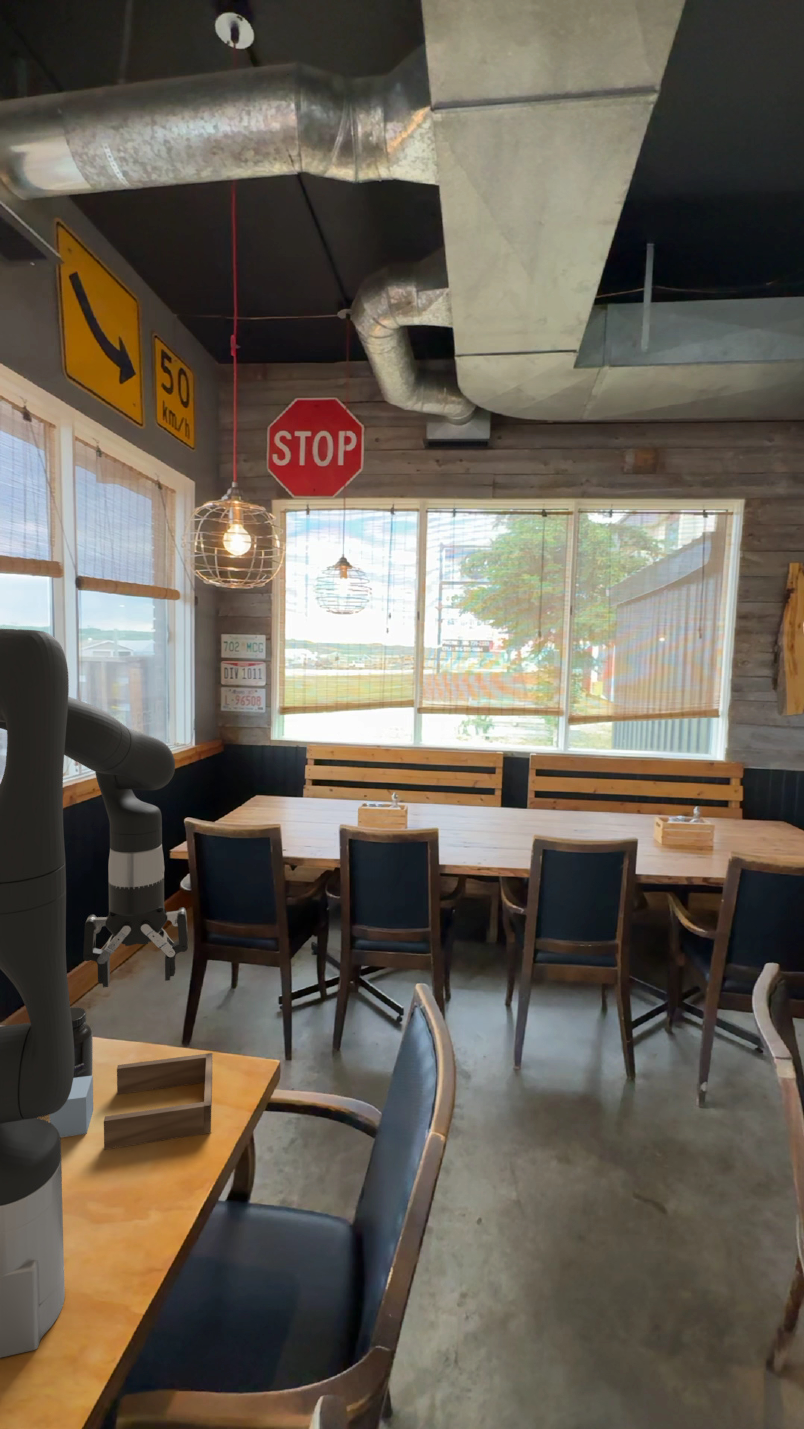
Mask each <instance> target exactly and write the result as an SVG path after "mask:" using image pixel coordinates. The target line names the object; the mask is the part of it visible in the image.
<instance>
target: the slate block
mask: <svg viewBox="0 0 804 1429" xmlns="http://www.w3.org/2000/svg"><path fill="white" fill-rule="evenodd" d="M93 1113H94V1075H92V1076H85V1077H77V1078H73V1083H72V1088H71V1092H70V1095H69V1097H68V1099H67V1101H66V1103H65V1104H64V1105H63V1106H62V1108H61V1109H60V1110H58V1111H57V1112H55V1113H52V1114H49V1122H50V1123H51V1124H52V1125H54V1126H55V1128H56V1129H57V1130H58V1132H59V1135H60V1139H61V1138H64V1137H72V1136H80V1135H81V1136H82V1135H86V1134H87V1133H88V1130H89V1127H90V1123H91V1120H92V1117H93Z"/></svg>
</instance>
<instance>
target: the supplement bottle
mask: <svg viewBox="0 0 804 1429" xmlns="http://www.w3.org/2000/svg"><path fill="white" fill-rule="evenodd" d="M70 1009H71V1019H72V1028H73V1040H74V1077H73V1078H77V1077H85V1076H93V1066H94V1065H93V1062H94V1060H93V1058H94V1057H93V1052H94V1051H93V1047H94V1046H93V1043H94V1042H93V1037H94V1036H93V1029H92V1027H91V1025H90V1024H89V1023H87V1011H86V1010H85V1009H84V1008H82V1007H77V1006H75V1007H70Z"/></svg>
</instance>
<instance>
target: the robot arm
mask: <svg viewBox="0 0 804 1429" xmlns="http://www.w3.org/2000/svg"><path fill="white" fill-rule="evenodd" d="M69 680H70V679H69V669H68V662H67V658H66V655H65V652H64V649H63V648H62V645H61V643H60V642H59V641H58V639H56V637H54V636H53V635H52V634H50V633H48V632H45V631H42V630H36V629H34V630H33V629H21V628H20V629H14V628H0V729H1V730H5V731H6V736H7V737H6V739H7V740H6V741H7V742H6V755H5V767H4V771H3V775H2V779H1V781H0V970H1V971H2V972H3V974H4V975H5V976H6V977H7V978H8V979H9V981H10V982H11V984H13V986H14V988H16V990H17V992H18V993H19V995H20V997H21V999H22V1001H23V1004H24V1006H25V1009H26V1012H27V1014H28V1018H29V1021H30V1022H25V1023H16V1024H8V1025H1V1026H0V1359H1V1358H4V1357H6V1358H7V1357H9V1356H10V1357H11V1356H14V1355H18V1354H22V1353H27V1352H32V1351H35V1350H37V1349H38V1348H39V1346H40V1342H41V1340H42V1338H43V1337H44V1335H45V1334H46V1333H47V1332H48V1331H49V1329H50V1328H51V1327H53V1325H54V1324H55V1321H56V1320H57V1319H58V1318H59V1316H60V1314H61V1311H62V1310H63V1306H64V1304H65V1297H66V1296H65V1290H66V1289H65V1288H66V1287H65V1261H64V1260H65V1259H64V1258H65V1257H64V1219H63V1218H64V1216H63V1215H64V1214H63V1212H64V1210H63V1175H62V1174H63V1173H62V1172H63V1170H62V1168H63V1167H62V1142H61V1140H62V1139H61V1138H60V1135H59V1132H58V1130H57V1129H56V1128H55V1126H54V1125H52V1124H51V1123H50V1121H48V1120H46V1119H42V1118H43V1117H45V1116H50V1114H52V1113H55V1112H57V1111H58V1110H60V1109H61V1108H62V1106H63V1105H64V1104H65V1103H66V1101H67V1099H68V1097H69V1095H70V1092H71V1088H72V1083H73V1077H74V1040H73V1028H72V1019H71V1009H70V1008H71V1002H70V992H69V982H68V981H69V980H68V972H67V971H68V968H67V953H66V952H67V949H66V946H67V944H66V942H67V938H66V937H67V932H66V930H67V928H66V927H67V922H66V921H67V919H66V918H67V876H66V875H67V873H66V870H67V868H66V851H65V850H66V849H65V838H64V837H65V836H64V835H65V834H64V766H65V765H64V764H65V762H64V761H65V756H66V757H67V758H69V759H71V760H73V761H74V762H76V763H78V764H80V765H82V766H84V767H85V768H88V769H89V770H90V771H93V772H95V777H96V778H95V779H96V782H97V784H98V788H99V790H100V794H101V796H102V801H103V804H104V807H105V810H106V813H107V816H108V820H109V821H108V822H109V856H108V914H107V916H106V917H105V916H104V917H103V916H100V917H99V916H98V917H97V916H96V915H95V914H90V915H88V917H87V919H86V921H85V923H84V933H83V934H84V935H83V936H84V938H83V956H82V957H83V960H84V961H85V962H90V961H92V962H95V963H96V964H97V982H98V984H99V985H101V984H102V988H109V986H110V982H111V961H110V960H111V959H110V958H111V955H112V954H113V953H115V951H116V950H117V949H118V947H119V946H120V945H124V946H125V947H128V946H129V947H130V946H133V945H148V944H149V943H151V942H152V943H153V944H154V945H155V946H156V947H157V948H158V949H160V950H161V951H162V952H163V953H164V954H165V956H164V975H165V976H164V977H165V978H164V981H166V982H167V981H171V977H174V976H175V973H176V966H177V964H176V957H177V956H176V955H178V954H179V953H185V952H187V951H188V949H189V934H188V933H189V930H188V918H187V915H188V914H187V910H186V908H185V907H179V909H178V910H173V911H167V910H166V908H165V868H166V867H165V860H164V858H165V857H164V851H163V825H162V824H163V819H162V818H163V817H162V816H163V815H162V812H161V809H160V808H159V806H156V805H154V804H151V803H148V802H145V801H142V800H140V799H139V798H137V797H136V795H135V793H134V792H133V790H135V791H136V790H137V791H138V790H139V791H157V790H160V789H162V788H164V787H165V786H167V785H168V784H169V783H170V781H171V780H172V778H173V776H174V775H175V770H176V760H175V757H174V754H173V752H172V751H171V749H170V747H169V746H168V745H167V744H166V743H165V742H163V741H161V740H160V739H158V738H156V737H154V736H151V735H149V734H146V733H143V732H141V731H137V730H134V729H131V728H128V727H127V726H126V725H125V724H123V723H122V722H120V721H119V720H118V719H116V718H115V717H114V716H112V715H111V714H110V713H108V712H106V711H104V710H103V709H102V708H99V707H97V706H95V705H92V704H90V703H89V702H85V701H82V700H79V699H76V698H73V697H70V696H69V686H70V685H69V683H70V682H69ZM168 921H170V922H171V924H172V926H173V927H177V936H178V940H177V941H175V942H174V941H173V940H172V939H171V937H170V936H169V934H168V933H167V931H166V930H165V929H164V928H163V927H164V926H165V925H166V923H167V922H168ZM102 927H105V928H107V930H108V931H109V932H110V933H111V935H110V937H109V938H108V940H107V941H106V942H105V944H104V945H103V947H102V948H101V949H100V948H97V947H96V943H97V942H96V939H97V934H99V933H100V932H101V930H102Z"/></svg>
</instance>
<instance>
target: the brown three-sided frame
mask: <svg viewBox="0 0 804 1429" xmlns="http://www.w3.org/2000/svg"><path fill="white" fill-rule="evenodd" d="M202 1083H204V1094H203V1097H204V1098H203V1101H201V1102H194V1103H188V1104H180V1105H174V1106H173V1105H172V1106H168V1107H167V1106H166V1107H160V1108H153V1109H152V1108H151V1109H146V1110H140V1111H139V1110H138V1111H134V1112H133V1111H132V1112H125V1113H119V1114H113V1115H105V1116H104V1119H103V1150H109V1149H111V1150H112V1149H117V1148H122V1147H129V1146H134V1145H142V1144H146V1143H147V1144H148V1143H155V1142H160V1141H169V1140H172V1139H174V1140H175V1139H179V1138H185V1137H193V1136H197V1135H205V1134H210V1133H212V1108H213V1107H212V1104H213V1102H212V1100H213V1096H212V1095H213V1052H209V1053H202V1054H193V1055H186V1056H178V1057H170V1058H169V1057H168V1058H162V1059H155V1060H147V1061H139V1062H132V1063H125V1064H124V1063H122V1064H117V1067H116V1084H117V1085H116V1088H117V1089H116V1094H117V1095H124V1094H130V1093H136V1092H137V1093H139V1092H145V1091H152V1090H157V1089H158V1090H159V1089H160V1090H161V1089H166V1088H174V1087H181V1086H189V1085H195V1084H202Z"/></svg>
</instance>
